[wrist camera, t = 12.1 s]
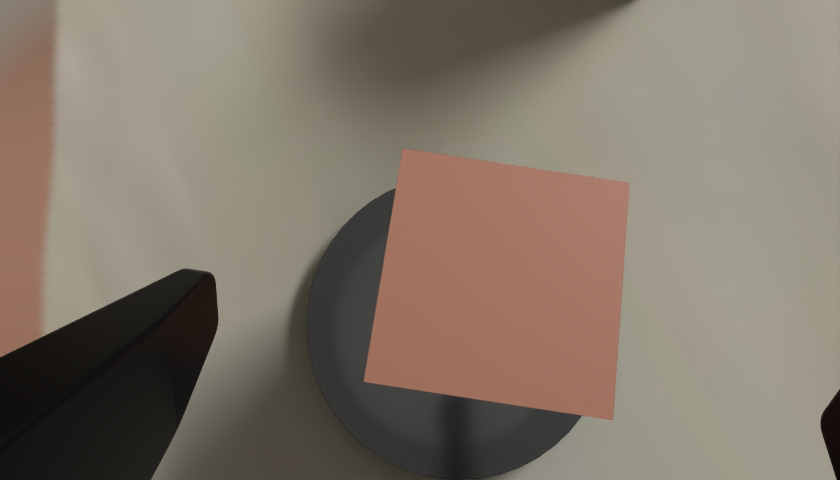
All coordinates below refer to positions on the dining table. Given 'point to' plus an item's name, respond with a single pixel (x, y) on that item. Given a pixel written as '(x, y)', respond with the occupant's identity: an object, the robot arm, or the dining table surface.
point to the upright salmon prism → (502, 285)
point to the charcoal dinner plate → (400, 407)
